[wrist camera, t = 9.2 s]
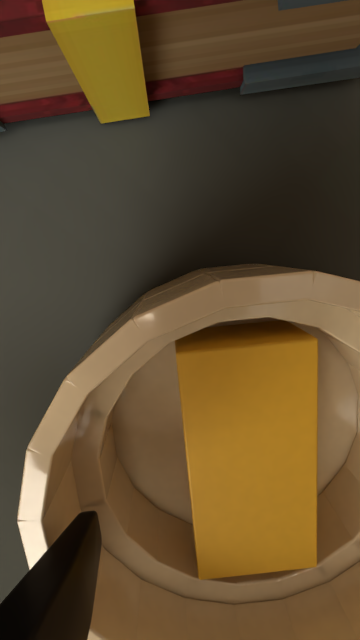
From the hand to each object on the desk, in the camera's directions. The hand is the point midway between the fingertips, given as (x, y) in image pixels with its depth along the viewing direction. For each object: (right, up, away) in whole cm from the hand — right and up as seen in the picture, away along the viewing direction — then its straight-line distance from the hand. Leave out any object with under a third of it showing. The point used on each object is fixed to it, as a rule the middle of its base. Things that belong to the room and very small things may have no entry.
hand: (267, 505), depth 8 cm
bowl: (0, +1, +4) cm, 4 cm away
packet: (0, +1, +4) cm, 4 cm away
